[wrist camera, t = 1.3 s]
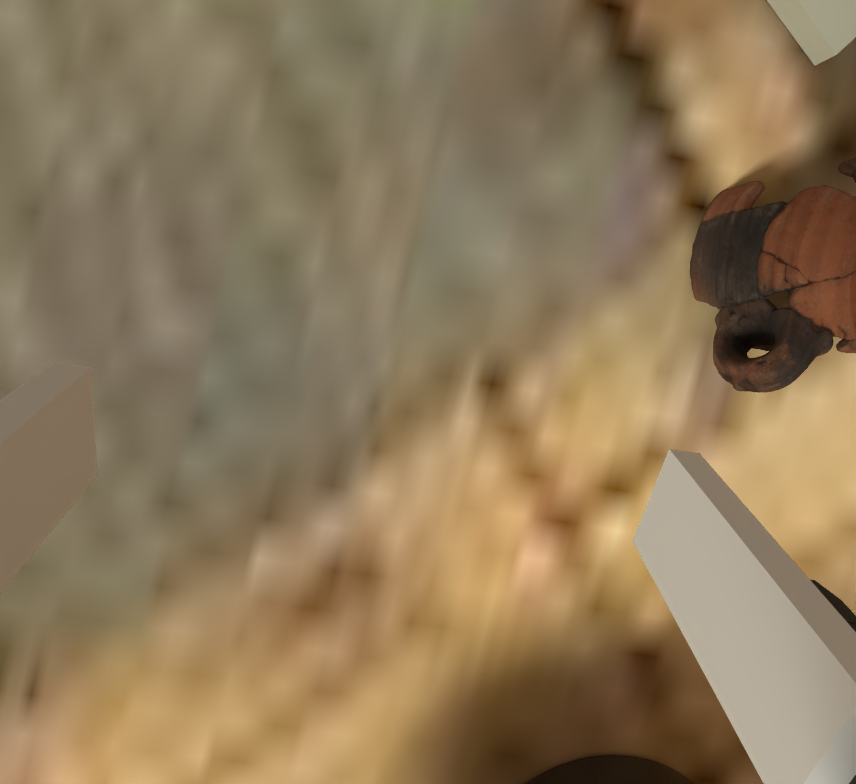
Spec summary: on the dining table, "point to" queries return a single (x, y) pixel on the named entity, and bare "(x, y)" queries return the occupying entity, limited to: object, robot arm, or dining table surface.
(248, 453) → the dining table surface
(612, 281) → the dining table surface
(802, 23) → the sage tile
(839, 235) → the pottery mug
